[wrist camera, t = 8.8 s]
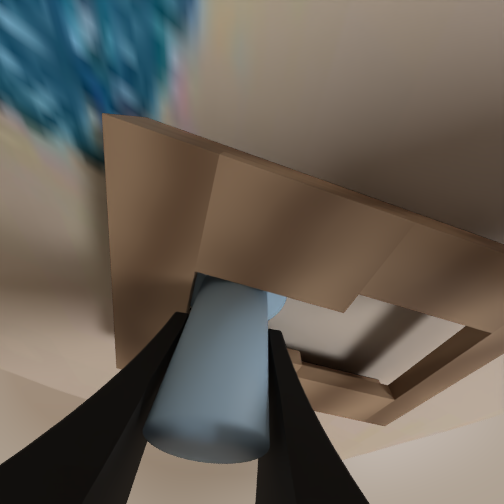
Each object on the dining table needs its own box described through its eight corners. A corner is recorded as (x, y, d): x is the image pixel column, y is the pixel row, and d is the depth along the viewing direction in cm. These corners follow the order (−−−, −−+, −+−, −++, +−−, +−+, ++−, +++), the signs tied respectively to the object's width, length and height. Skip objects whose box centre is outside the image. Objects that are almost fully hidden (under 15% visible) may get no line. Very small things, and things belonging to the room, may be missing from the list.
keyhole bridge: (532, 254, 12) (607, 289, 9) (369, 387, 20) (384, 426, 17) (146, 117, 9) (101, 113, 7) (138, 332, 17) (116, 368, 15)
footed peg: (296, 242, 12) (342, 409, 5) (274, 316, 16) (283, 481, 8) (188, 226, 12) (73, 374, 5) (190, 304, 15) (123, 462, 8)
